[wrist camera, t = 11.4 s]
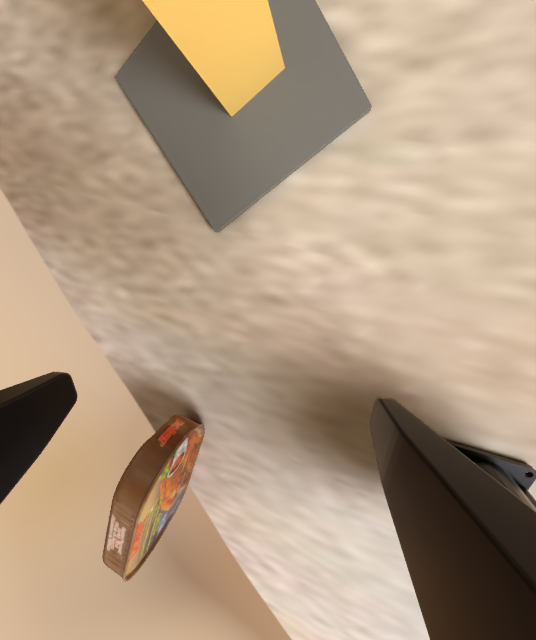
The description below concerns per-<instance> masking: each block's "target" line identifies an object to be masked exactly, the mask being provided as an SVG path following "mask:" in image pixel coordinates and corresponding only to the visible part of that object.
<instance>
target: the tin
mask: <svg viewBox="0 0 536 640" xmlns="http://www.w3.org/2000/svg"><path fill="white" fill-rule="evenodd" d="M204 431H205V428H204V426H203V425H202V424H198V423H196V422H194V421H192V420H190V419H189V418H187V417H185V416H182V415H175V416H173V417H171V419H170V420H169V421H168V422H166V423H165V424H164V425H163V426H162V427H161V428H160V429H159V430H158V431H157V432H156V433H155V434H154V435H153V436H152V437H151V438H150V439H148V440H147V441H146V442H145V443H144V444H143V445H142V446H141V448H140V449H139V450H138V452H137V453H136V454H135V456H134V457H133V459H132V460H131V462H130V463H129V465H128V466H127V468H126V470H125V472H124V473H123V475H122V477H121V479H120V481H119V483H118V485H117V488H116V491H115V493H114V496H113V500H112V505H111V511H110V516H109V523H108V528H107V533H106V540H105V545H104V551H103V562H104V563H105V564H106V565H107V566H108V567H109V568H110V569H112V570H113V571H114V572H116V573H117V574H119V575H120V576H121V577H122V578H123V580H124V581H125V582H126V581H128V580H130V579H131V578H132V577H133V576H134V575H135V574H136V572H137V571H138V570H139V569H140V568H141V566H142V565H143V563H144V562H145V561H146V559H147V558H148V556H149V555H150V554H151V552H152V551H153V549H154V547H155V546H156V544H157V543H158V541H159V539H160V538H161V536H162V535H163V533H164V531H165V529H166V528H167V526H168V524H169V522H170V521H171V519H172V517H173V515H174V514H175V512H176V510H177V508H178V506H179V504H180V502H181V500H182V498H183V496H184V494H185V491H186V488H187V486H188V483H189V480H190V477H191V473H192V470H193V467H194V464H195V461H196V458H197V455H198V452H199V449H200V446H201V443H202V440H203V437H204Z"/></svg>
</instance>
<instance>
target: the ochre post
mask: <svg viewBox="0 0 536 640" xmlns="http://www.w3.org/2000/svg"><path fill="white" fill-rule="evenodd" d="M142 1H143V2H144V4H145V5H146V6H147V7H148V9H149V10H150V11H151V13H152V14H153V15H154V17H155V18H156V19H157V20H158V22H159V23H160V24H161V26H162V27H163V28H164V30H165V31H166V32H167V33H168V35H169V36H170V37H171V39H172V40H173V41H174V43H175V44H176V45H177V46H178V48H179V49H180V50H181V52H182V53H183V54H184V56H185V57H186V58H187V60H188V61H189V62H190V63H191V65H192V66H193V67H194V69H195V70H196V71H197V73H198V74H199V75H200V76H201V78H202V79H203V80H204V82H205V83H206V84H207V86H208V87H209V88H210V89H211V91H212V92H213V93H214V95H215V96H216V97H217V99H218V100H219V101H220V102H221V104H222V105H223V106H224V108H225V109H226V110H227V112H228V113H229V114H230V116H231V117H232V116H233V115H234V114H236V113H237V112H238V111H239V110H240V109H241V108H242V107H243V106H244V105H245V104H246V103H248V102H249V101H250V100H251V99H252V98H253V97H254V96H255V95H256V94H257V93H258V92H260V91H261V90H262V89H263V88H264V87H265V86H266V85H267V84H268V83H269V82H270V81H272V80H273V79H274V78H275V77H276V76H277V75H278V74H279V73H280V72H281V71H282V70H284V69H285V66H284V62H283V58H282V54H281V50H280V46H279V42H278V38H277V34H276V30H275V27H274V23H273V19H272V15H271V11H270V7H269V3H268V0H142Z"/></svg>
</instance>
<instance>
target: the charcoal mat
mask: <svg viewBox="0 0 536 640" xmlns="http://www.w3.org/2000/svg"><path fill="white" fill-rule="evenodd" d="M268 3H269V7H270V11H271V15H272V19H273V23H274V27H275V30H276V34H277V38H278V42H279V46H280V50H281V54H282V58H283V62H284V66H285V69H284V70H282V71H281V72H280V73H279V74H278V75H277V76H276V77H275V78H274V79H273V80H272V81H270V82H269V83H268V84H267V85H266V86H265V87H264V88H263V89H262V90H261V91H260V92H258V93H257V94H256V95H255V96H254V97H253V98H252V99H251V100H250V101H249V102H248V103H246V104H245V105H244V106H243V107H242V108H241V109H240V110H239V111H238V112H237V113H236V114H234V115H233V116H232V117H231V116H230V114H229V113H228V112H227V110H226V109H225V108H224V106H223V105H222V104H221V102H220V101H219V100H218V99H217V97H216V96H215V95H214V93H213V92H212V91H211V89H210V88H209V87H208V86H207V84H206V83H205V82H204V80H203V79H202V78H201V76H200V75H199V74H198V73H197V71H196V70H195V69H194V67H193V66H192V65H191V63H190V62H189V61H188V60H187V58H186V57H185V56H184V54H183V53H182V52H181V50H180V49H179V48H178V46H177V45H176V44H175V43H174V41H173V40H172V39H171V37H170V36H169V35H168V33H167V32H166V31H165V30H164V28H163V27H162V26H161V24H160V23H159V22H158V20H157V21H156V23H155V24H154V25H153V27H152V28H151V29H150V31H149V32H148V33H147V35H146V36H145V37H144V39H143V40H142V41H141V42H140V44H139V45H138V46H137V48H136V49H135V50H134V52H133V53H132V54H131V56H130V57H129V58H128V60H127V61H126V62H125V64H124V65H123V66H122V68H121V69H120V70H119V71H118V73H117V74H116V75H115V78H116V80H117V81H118V83H119V84H120V86H121V87H122V89H123V90H124V92H125V93H126V95H127V97H128V98H129V100H130V101H131V103H132V104H133V106H134V107H135V109H136V110H137V112H138V114H139V115H140V117H141V118H142V120H143V121H144V123H145V124H146V126H147V127H148V129H149V131H150V132H151V134H152V135H153V137H154V138H155V140H156V141H157V143H158V144H159V146H160V148H161V149H162V151H163V152H164V154H165V155H166V157H167V158H168V160H169V161H170V163H171V165H172V166H173V168H174V169H175V171H176V172H177V174H178V175H179V177H180V178H181V180H182V182H183V183H184V185H185V186H186V188H187V189H188V191H189V192H190V194H191V195H192V197H193V199H194V200H195V202H196V203H197V205H198V206H199V208H200V209H201V211H202V212H203V214H204V216H205V217H206V219H207V220H208V222H209V223H210V225H211V226H212V228H213V229H214V231H215V232H220V231H221V230H222V229H223V228H225V227H226V226H227V225H228V224H230V223H231V222H232V221H233V220H235V219H236V218H237V217H238V216H240V215H241V214H242V213H243V212H245V211H246V210H247V209H248V208H250V207H251V206H252V205H253V204H255V203H256V202H257V201H258V200H260V199H261V198H262V197H263V196H265V195H266V194H267V193H268V192H270V191H271V190H272V189H273V188H275V187H276V186H277V185H278V184H279V183H281V182H282V181H283V180H284V179H286V178H287V177H288V176H289V175H291V174H292V173H293V172H294V171H296V170H297V169H298V168H299V167H301V166H302V165H303V164H304V163H306V162H307V161H308V160H309V159H311V158H312V157H313V156H314V155H316V154H317V153H318V152H319V151H321V150H322V149H323V148H324V147H326V146H327V145H328V144H329V143H331V142H332V141H333V140H334V139H336V138H337V137H338V136H339V135H341V134H342V133H343V132H344V131H346V130H347V129H348V128H349V127H351V126H352V125H353V124H354V123H356V122H357V121H358V120H359V119H361V118H362V117H363V116H364V115H366V114H367V113H368V112H369V111H370V110H371V106H372V105H371V104H370V102H369V100H368V98H367V96H366V94H365V92H364V91H363V89H362V87H361V85H360V83H359V81H358V79H357V78H356V76H355V74H354V72H353V70H352V68H351V66H350V64H349V63H348V61H347V59H346V57H345V55H344V53H343V51H342V50H341V48H340V46H339V44H338V42H337V40H336V38H335V36H334V35H333V33H332V31H331V29H330V27H329V25H328V23H327V22H326V20H325V18H324V16H323V14H322V12H321V10H320V8H319V7H318V5H317V3H316V1H315V0H268Z"/></svg>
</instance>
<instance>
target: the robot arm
mask: <svg viewBox="0 0 536 640" xmlns="http://www.w3.org/2000/svg"><path fill="white" fill-rule="evenodd" d="M76 401H77V392H76V389H75V386H74V383H73V380H72V378H71V376H70V375H69V374H68V373H63V372H52V373H49V374H46V375H43V376H40V377H37V378H34V379H31V380H29V381H26V382H23V383H20V384H17V385H14V386H12V387H9V388H6V389H3V390H0V504H1V503H2V502H3V500H4V499H5V498H6V497H7V495H8V494H9V493H10V491H11V490H12V489H13V488H14V487H15V485H16V484H17V483H18V481H19V480H20V479H21V478H22V477H23V475H24V474H25V473H26V472H27V470H28V469H29V468H30V467H31V465H32V464H33V463H34V462H35V460H36V459H37V458H38V456H39V455H40V454H41V452H42V451H43V450H44V448H45V447H46V446H47V444H48V443H49V441H50V440H51V438H52V437H53V435H54V434H55V432H56V431H57V429H58V428H59V427H60V425H61V424H62V422H63V421H64V419H65V418H66V416H67V415H68V413H69V412H70V410H71V409H72V407H73V406H74V404H75V403H76ZM370 429H371V434H372V439H373V444H374V449H375V454H376V459H377V463H378V468H379V473H380V478H381V482H382V486H383V490H384V493H385V497H386V500H387V503H388V506H389V509H390V513H391V516H392V519H393V522H394V525H395V529H396V532H397V535H398V538H399V541H400V545H401V548H402V551H403V554H404V557H405V561H406V564H407V567H408V570H409V573H410V577H411V580H412V583H413V586H414V589H415V593H416V596H417V599H418V602H419V605H420V609H421V612H422V615H423V618H424V621H425V625H426V628H427V631H428V634H429V637H430V640H536V500H535V499H534V498H533V497H532V495H531V494H530V493H529V492H528V489H529V488H530V486H531V485H532V484H533V482H534V481H535V479H536V471H535V470H534V469H533V468H532V467H531V466H530V465H527V464H524V463H520V462H517V461H514V460H511V459H507V458H504V457H501V456H497V455H494V454H491V453H488V452H484V451H481V450H478V449H474V448H471V447H468V446H465V445H461V444H458V443H455V442H451V441H448V440H445V439H443V438H442V437H441V436H440V435H438V434H437V433H436V432H435V431H433V430H432V429H431V428H430V427H428V426H427V425H426V424H424V423H423V422H422V421H421V420H419V419H418V418H417V417H416V416H414V415H413V414H412V413H411V412H409V411H408V410H407V409H406V408H404V407H403V406H402V405H400V404H399V403H398V402H397V401H395V400H394V399H392V398H385V397H378V398H376V400H375V403H374V406H373V410H372V414H371V418H370ZM526 472H528V473H526Z"/></svg>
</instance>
